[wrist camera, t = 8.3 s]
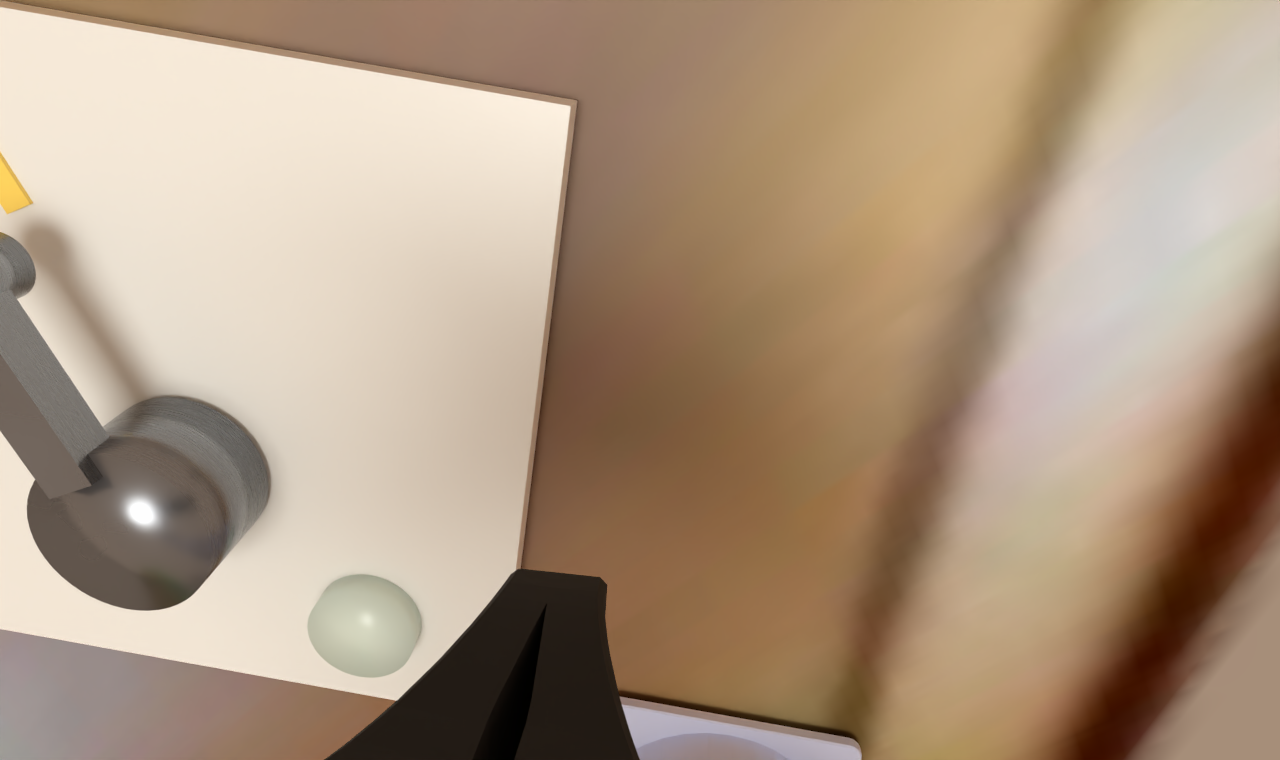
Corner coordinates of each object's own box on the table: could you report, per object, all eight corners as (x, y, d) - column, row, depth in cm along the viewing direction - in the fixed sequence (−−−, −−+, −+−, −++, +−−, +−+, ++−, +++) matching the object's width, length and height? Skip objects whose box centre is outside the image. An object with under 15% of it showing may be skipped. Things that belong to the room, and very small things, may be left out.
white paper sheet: (505, 694, 28) (492, 739, 26) (2, 603, 28) (-43, 642, 26) (577, 100, 20) (564, 111, 18) (-114, -20, 20) (-187, -20, 19)
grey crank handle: (298, 517, 24) (236, 596, 21) (164, 557, 25) (86, 638, 22) (98, 185, 21) (-12, 222, 18) (-48, 246, 22) (-177, 291, 18)
